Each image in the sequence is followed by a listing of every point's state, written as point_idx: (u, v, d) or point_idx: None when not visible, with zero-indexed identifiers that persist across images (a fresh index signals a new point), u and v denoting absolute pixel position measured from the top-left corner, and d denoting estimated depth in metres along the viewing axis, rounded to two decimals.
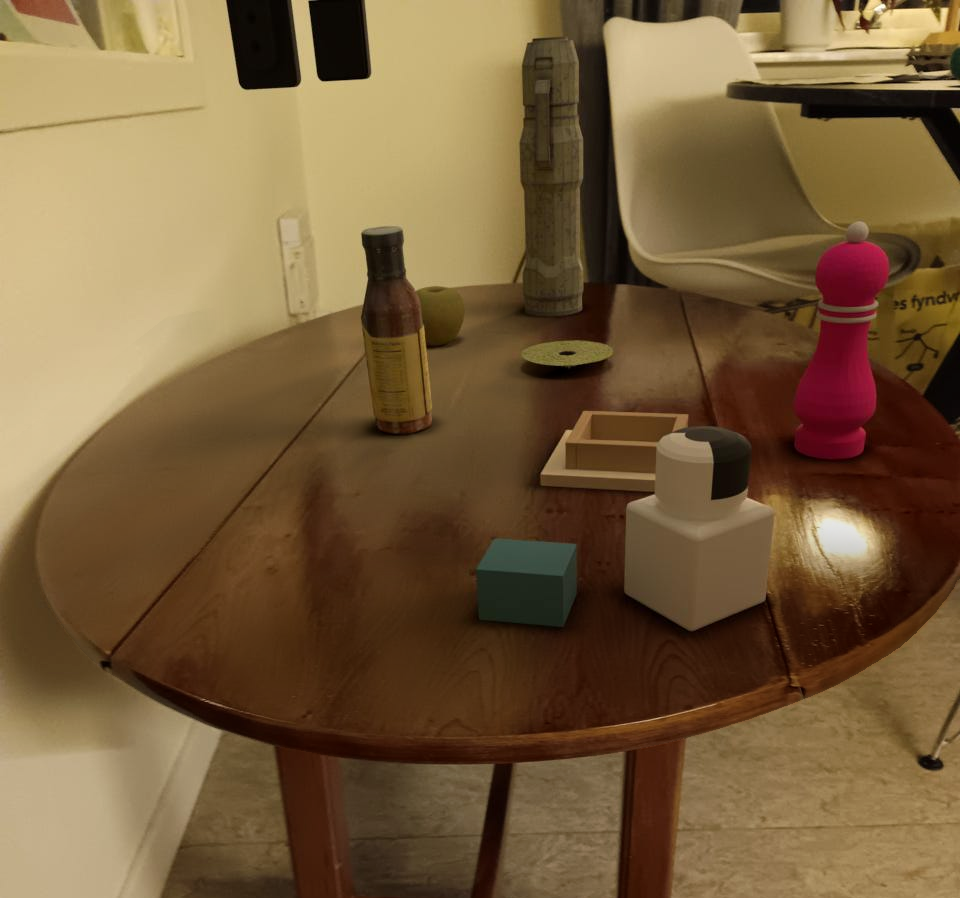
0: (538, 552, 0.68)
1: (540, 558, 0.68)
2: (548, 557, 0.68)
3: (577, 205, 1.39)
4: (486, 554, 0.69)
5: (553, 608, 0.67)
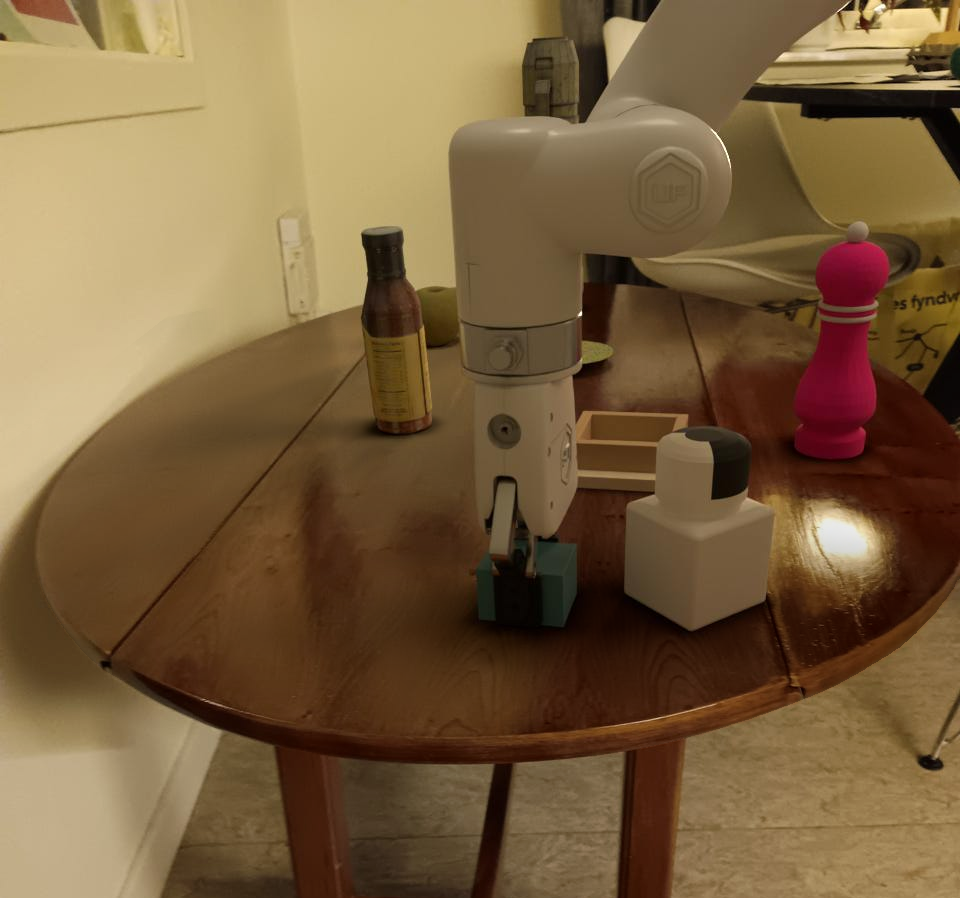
0: (538, 552, 0.68)
1: (540, 558, 0.68)
2: (548, 557, 0.68)
3: None
4: (486, 554, 0.69)
5: (553, 608, 0.67)
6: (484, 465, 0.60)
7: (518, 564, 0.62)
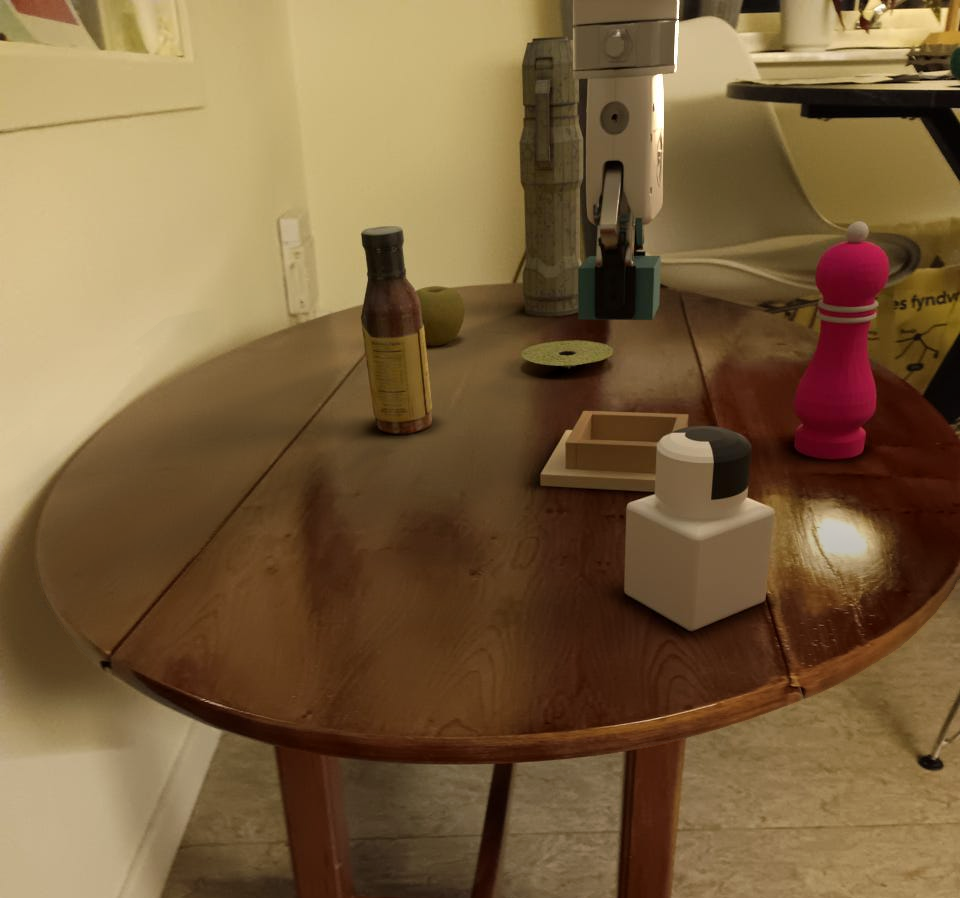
0: None
1: None
2: (638, 261, 0.79)
3: (577, 205, 1.39)
4: (584, 262, 0.80)
5: (644, 301, 0.78)
6: (596, 152, 0.71)
7: (621, 245, 0.74)
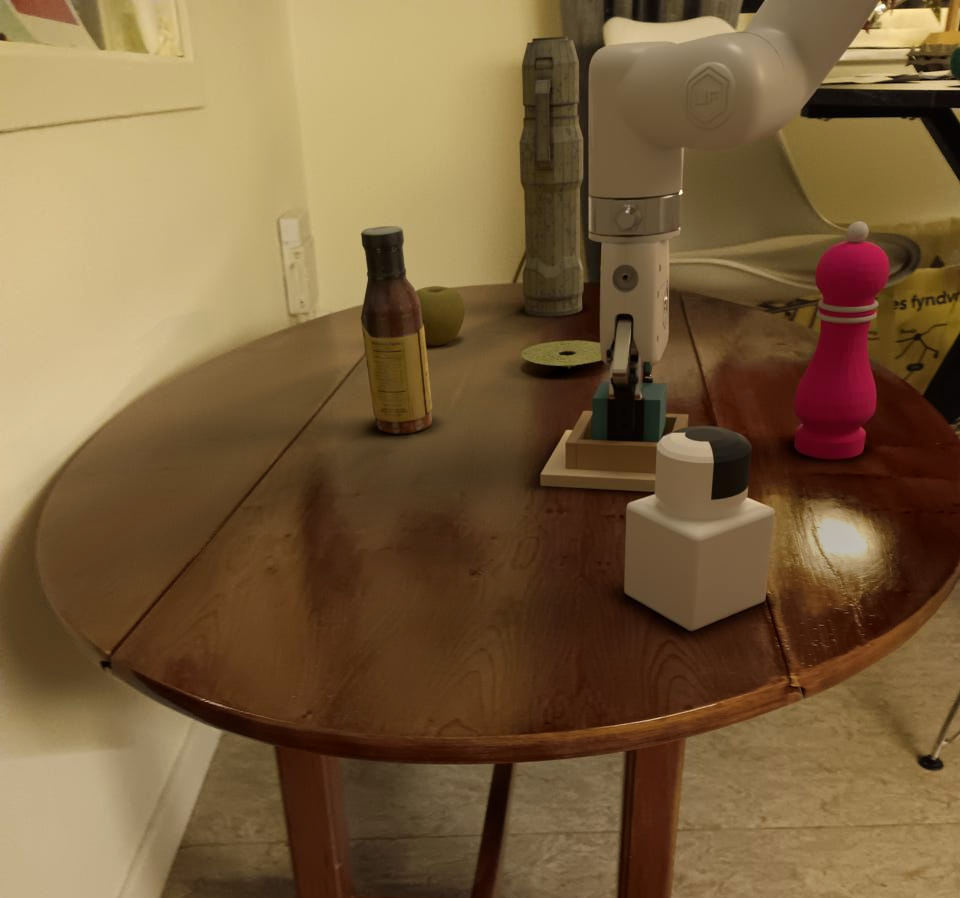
0: None
1: None
2: (646, 390, 0.88)
3: (577, 205, 1.39)
4: (598, 390, 0.89)
5: (652, 427, 0.87)
6: (609, 306, 0.81)
7: (631, 384, 0.83)
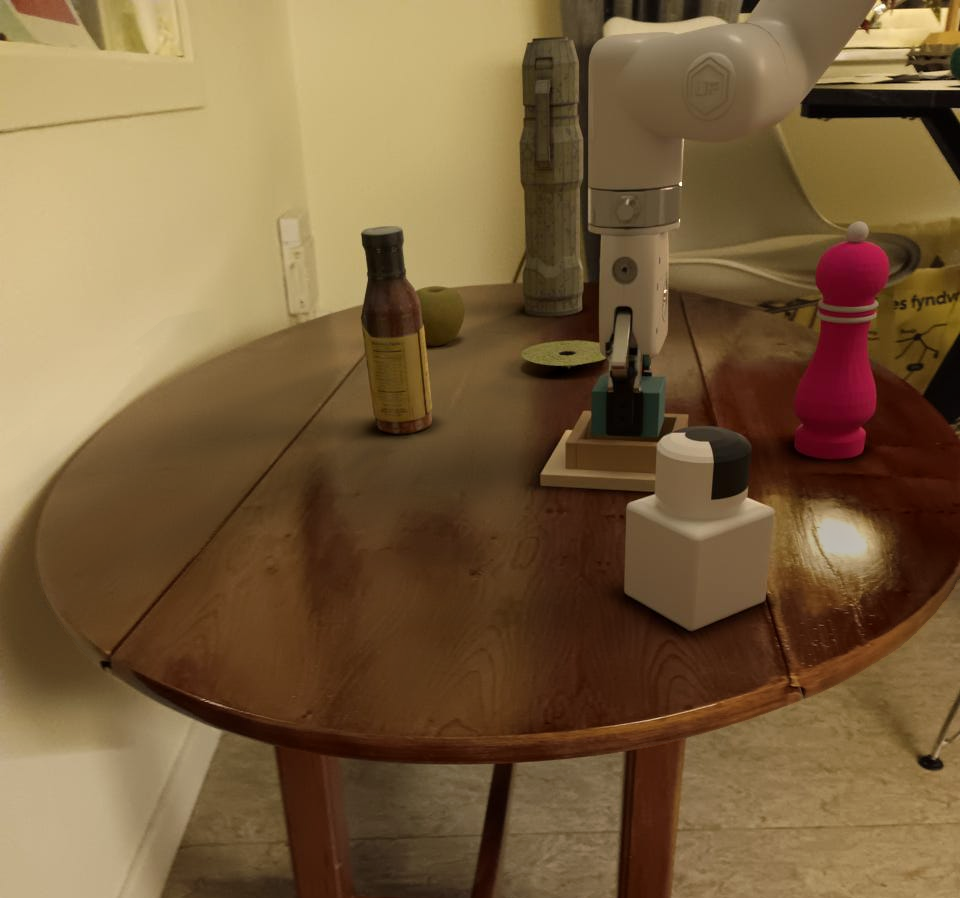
0: None
1: None
2: (645, 384, 0.88)
3: (577, 205, 1.39)
4: (596, 383, 0.89)
5: (651, 421, 0.87)
6: (608, 299, 0.80)
7: (630, 377, 0.82)
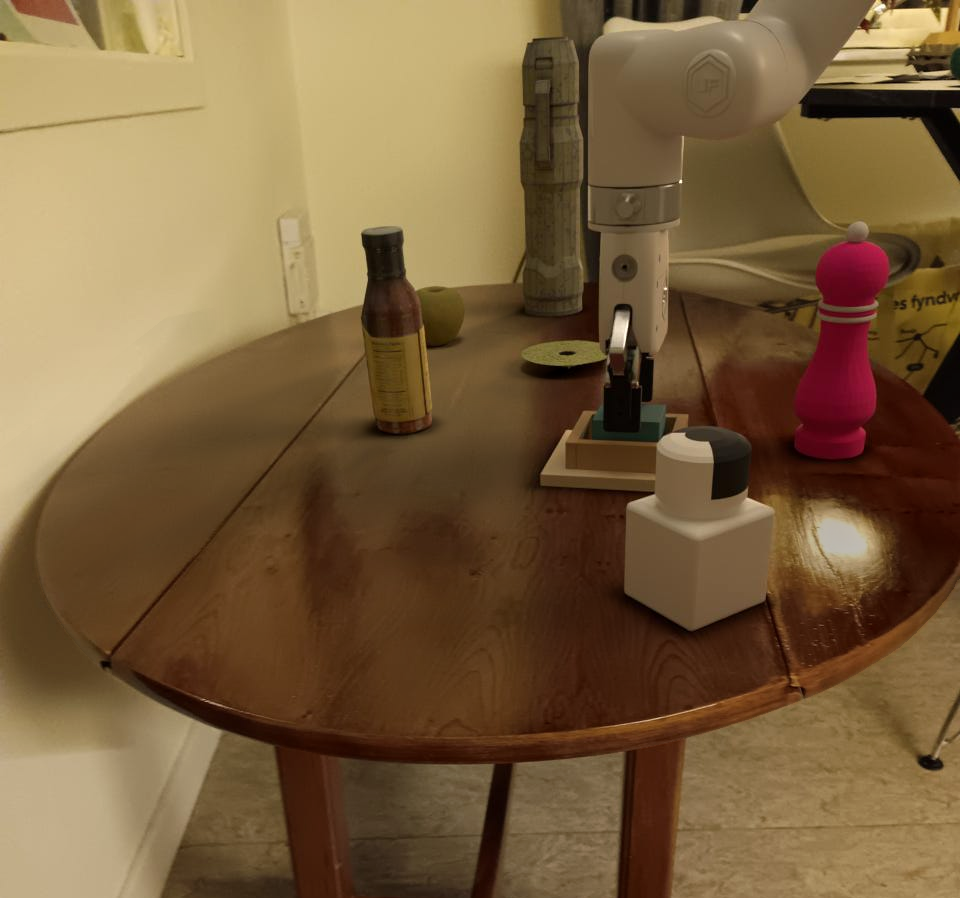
0: None
1: None
2: (646, 412, 0.89)
3: (577, 205, 1.39)
4: (597, 411, 0.90)
5: None
6: (608, 296, 0.80)
7: (628, 372, 0.81)
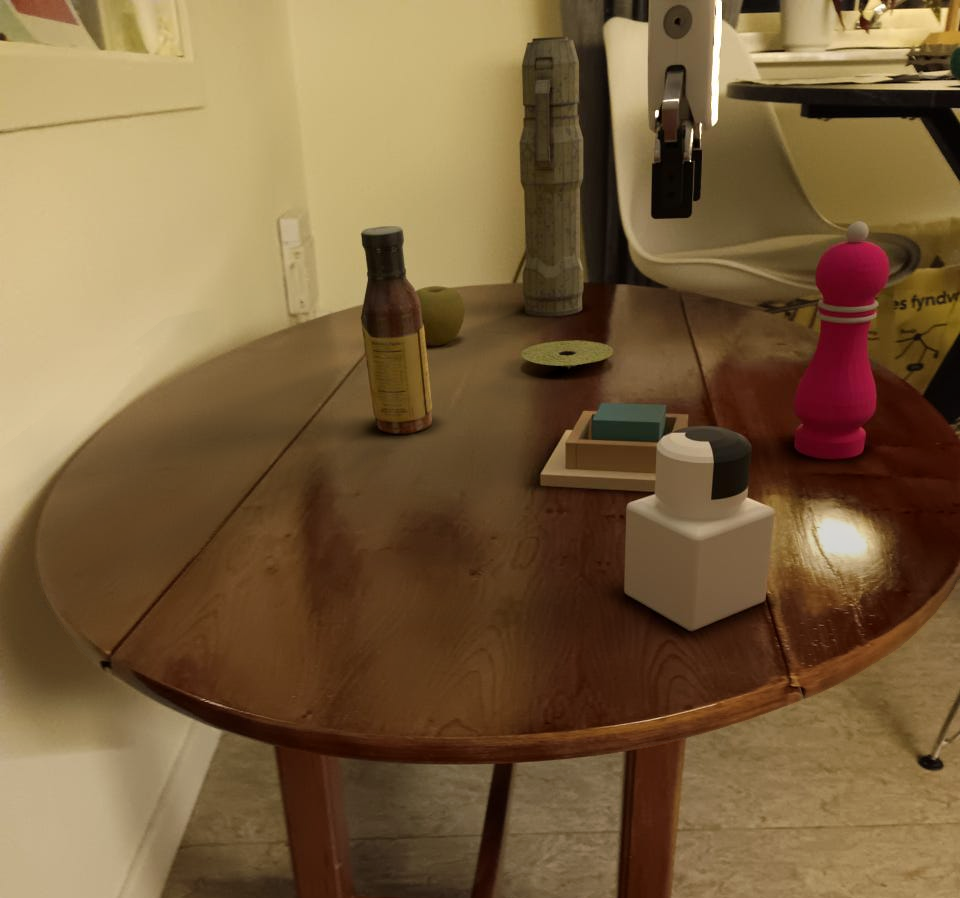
0: (638, 410, 0.90)
1: (639, 413, 0.89)
2: (646, 412, 0.89)
3: (577, 205, 1.39)
4: (597, 411, 0.90)
5: None
6: (658, 57, 0.73)
7: (681, 136, 0.73)
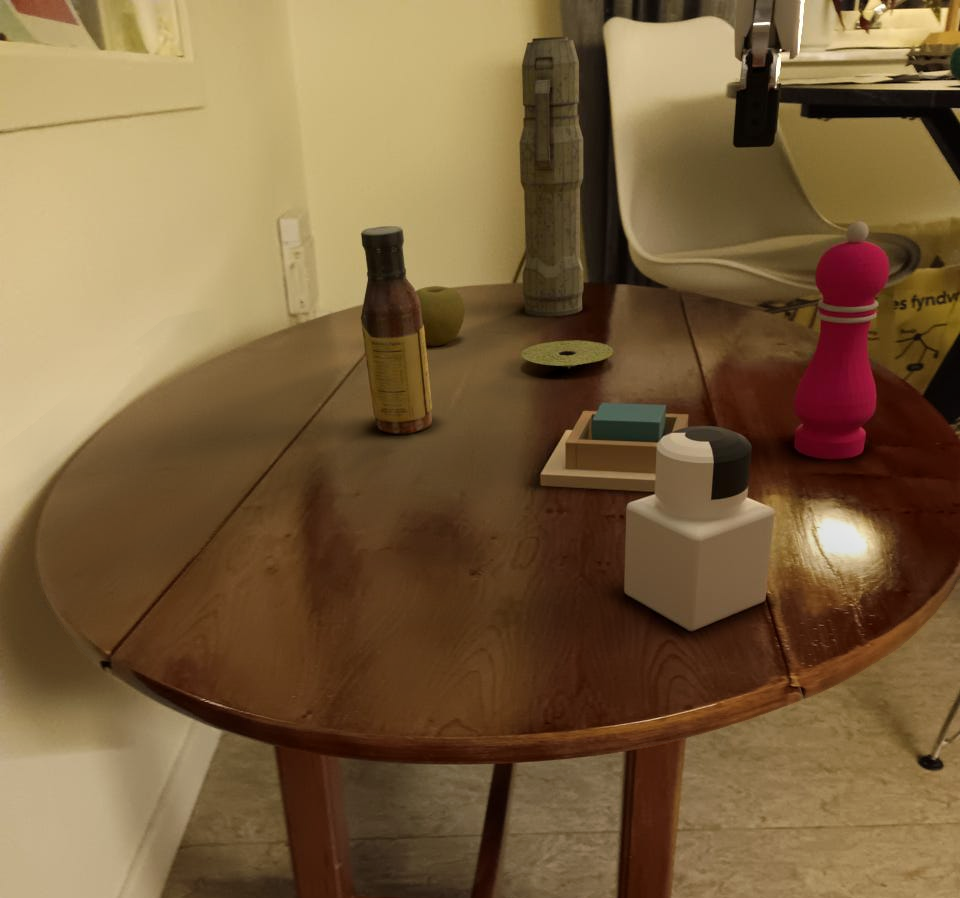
0: (638, 410, 0.90)
1: (639, 413, 0.89)
2: (646, 412, 0.89)
3: (577, 205, 1.39)
4: (597, 411, 0.90)
5: None
6: None
7: (769, 61, 0.74)
